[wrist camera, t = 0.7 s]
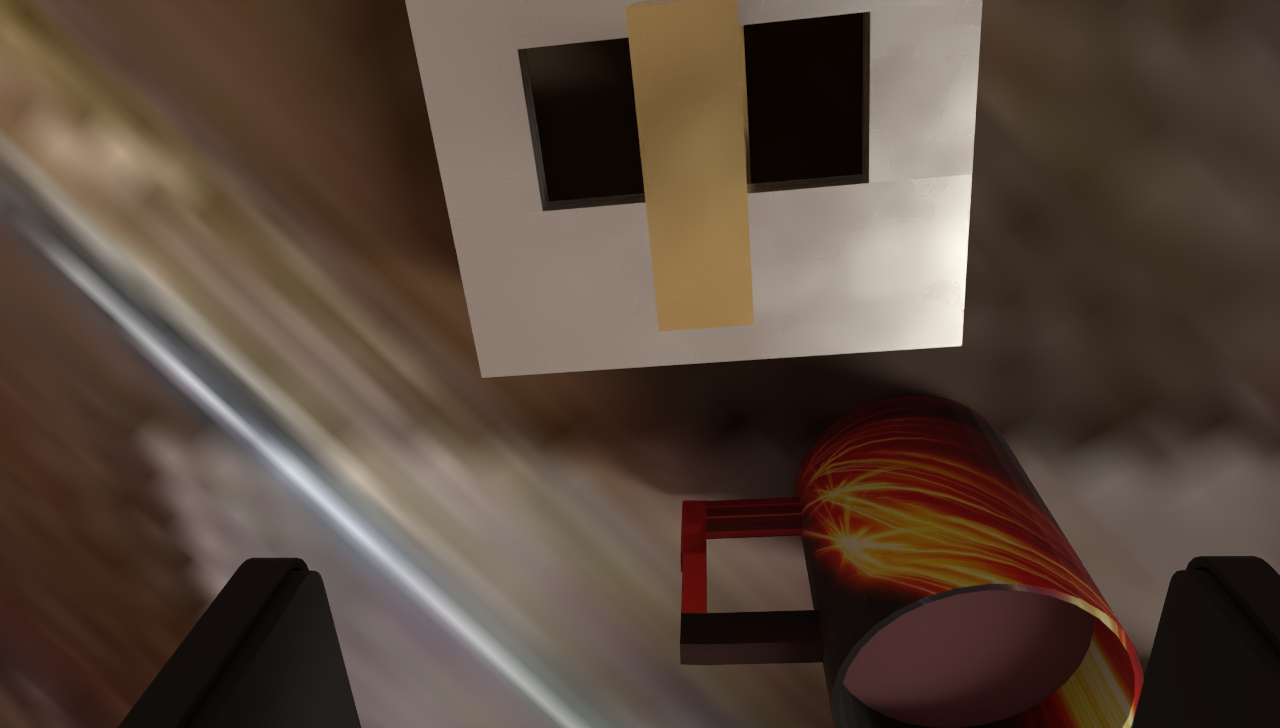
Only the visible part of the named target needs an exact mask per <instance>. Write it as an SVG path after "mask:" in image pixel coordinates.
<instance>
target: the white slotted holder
mask: <svg viewBox="0 0 1280 728" xmlns="http://www.w3.org/2000/svg"><path fill="white" fill-rule="evenodd" d="M641 1H650V0H405V2H406V7H407V12H408V17H409V22H410V27H411V32H412V37H413V42H414V47H415V51H416V56H417V61H418V66H419V71H420V76H421V81H422V86H423V91H424V96H425V101H426V106H427V110H428V115H429V120H430V125H431V130H432V135H433V140H434V145H435V150H436V155H437V160H438V164H439V169H440V174H441V179H442V184H443V189H444V194H445V199H446V204H447V209H448V214H449V219H450V223H451V228H452V233H453V238H454V243H455V248H456V253H457V258H458V263H459V268H460V273H461V278H462V282H463V287H464V292H465V297H466V302H467V307H468V312H469V317H470V322H471V327H472V332H473V336H474V341H475V346H476V351H477V356H478V361H479V366H480V371H481V376H482V378H486V377H501V376H516V375H531V374H546V373H561V372H576V371H591V370H606V369H622V368H637V367H652V366H667V365H682V364H697V363H712V362H727V361H742V360H757V359H772V358H787V357H802V356H817V355H832V354H847V353H862V352H877V351H892V350H908V349H923V348H938V347H953V346H962V335H963V318H964V301H965V284H966V268H967V251H968V234H969V217H970V200H971V184H972V167H973V150H974V133H975V116H976V100H977V83H978V66H979V49H980V33H981V16H982V0H737V6H738V25H739V26H740V25H749V24H758V23H768V22H777V21H787V20H796V19H805V18H815V17H824V16H833V15H843V14H852V13H861V12H863V124H862V174H857V175H846V176H834V177H823V178H811V179H800V180H789V181H777V182H766V183H754V184H747V198H748V217H749V236H750V256H751V275H752V294H753V313H754V325H745V326H731V327H717V328H703V329H689V330H675V331H660V332H659V327H658V318H657V308H656V298H655V289H654V279H653V269H652V260H651V250H650V240H649V231H648V221H647V211H646V202H645V193H640V194H629V195H618V196H606V197H595V198H583V199H572V200H560V201H549V199H548V192H547V186H546V179H545V173H544V166H543V159H542V153H541V146H540V140H539V133H538V127H537V120H536V113H535V107H534V100H533V94H532V87H531V80H530V74H529V67H528V61H527V54H526V48H534V47H543V46H553V45H562V44H571V43H581V42H590V41H599V40H609V39H618V38H628V28H627V18H626V7H627V6H629V5H630V4H632V3H633V2H641Z"/></svg>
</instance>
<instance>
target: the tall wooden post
mask: <svg viewBox="0 0 1280 728" xmlns="http://www.w3.org/2000/svg"><path fill="white" fill-rule="evenodd" d="M626 18H627V28H628V37H629V47H630V57H631V66H632V76H633V86H634V95H635V105H636V115H637V124H638V134H639V144H640V153H641V163H642V173H643V182H644V192H645V202H646V211H647V221H648V231H649V240H650V250H651V260H652V269H653V279H654V289H655V298H656V308H657V318H658V327H659V332H660V331H675V330H689V329H703V328H717V327H731V326H745V325H754V313H753V294H752V275H751V256H750V236H749V217H748V198H747V184H751V169H750V148H749V128H748V108H747V88H746V68H745V48H744V28H743V25H740V26H739V25H738V6H737V0H650V1H641V2H633V3H632V4H630V5H629V6H627V7H626Z"/></svg>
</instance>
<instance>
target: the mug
mask: <svg viewBox="0 0 1280 728" xmlns="http://www.w3.org/2000/svg"><path fill="white" fill-rule="evenodd" d="M774 536H802V542H803V548H804V554H805V560H806V566H807V571H808V577H809V583H810V589H811V595H812V601H813V607H814V610H805V611H770V612H736V613H707V565H706V539H721V538H748V537H774ZM681 572H683V573H682V604H681V635H680V657H681V664H688V665H724V664H768V663H812V662H823V665H824V671H825V677H826V683H827V689H828V694H829V700H830V706H831V712H832V717H833V722H834V727H835V728H1131V726H1132V723H1133V719H1134V715H1135V711H1136V708H1137V704H1138V700H1139V696H1140V693H1141V689H1142V685H1143V670H1142V666H1141V663H1140V659H1139V656H1138V652H1137V650H1136V649H1135V647H1134V645H1133V644H1132V642H1131V641H1130V639H1129V637H1128V636H1127V634H1126V633H1125V631H1124V629H1123V628H1122V626H1121V625H1120V623H1119V621H1118V620H1117V618H1116V617H1115V615H1114V613H1113V612H1112V610H1111V609H1110V607H1109V605H1108V604H1107V602H1106V601H1105V599H1104V597H1103V596H1102V594H1101V593H1100V591H1099V590H1098V588H1097V586H1096V585H1095V583H1094V582H1093V580H1092V578H1091V577H1090V575H1089V574H1088V572H1087V570H1086V569H1085V567H1084V566H1083V564H1082V562H1081V561H1080V559H1079V558H1078V556H1077V554H1076V553H1075V551H1074V550H1073V548H1072V546H1071V545H1070V543H1069V542H1068V540H1067V538H1066V537H1065V535H1064V534H1063V532H1062V530H1061V529H1060V527H1059V526H1058V524H1057V522H1056V521H1055V519H1054V518H1053V516H1052V514H1051V513H1050V511H1049V510H1048V508H1047V506H1046V505H1045V503H1044V502H1043V500H1042V498H1041V497H1040V495H1039V494H1038V492H1037V490H1036V489H1035V487H1034V486H1033V484H1032V482H1031V481H1030V479H1029V478H1028V476H1027V474H1026V473H1025V471H1024V470H1023V468H1022V466H1021V465H1020V463H1019V462H1018V460H1017V458H1016V457H1015V455H1014V454H1013V452H1012V451H1011V449H1010V447H1009V446H1008V444H1007V443H1006V441H1005V439H1004V438H1003V436H1002V435H1001V433H1000V432H999V431H998V430H997V429H996V428H995V427H994V426H993V425H992V424H991V423H990V422H989V421H988V420H987V419H986V418H985V417H983V416H981V415H980V414H978V413H977V412H975V411H973V410H972V409H970V408H969V407H966V406H963V405H961V404H958V403H955V402H953V401H950V400H946V399H940V398H934V397H928V396H902V397H896V398H890V399H885V400H880V401H877V402H874V403H871V404H868V405H866V406H863V407H860V408H858V409H856V410H854V411H853V412H851V413H849V414H847V415H845V416H844V417H842V418H840V419H839V420H837V421H836V422H835V423H834V424H833V425H831V426H830V427H829V428H828V429H826V430H825V431H824V432H823V433H822V434H821V435H820V437H819V438H818V439H817V440H816V441H815V443H814V444H813V445H812V446H811V447H810V449H809V451H808V453H807V455H806V456H805V458H804V460H803V462H802V464H801V467H800V470H799V474H798V477H797V481H796V495H795V497H790V498H766V499H742V500H718V501H689V500H685V501H683V503H682V530H681Z"/></svg>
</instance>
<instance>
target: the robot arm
mask: <svg viewBox="0 0 1280 728" xmlns="http://www.w3.org/2000/svg"><path fill="white" fill-rule="evenodd" d="M118 728H361V725H360V721H359V718H358V714H357V710H356V706H355V702H354V698H353V695H352V691H351V687H350V683H349V679H348V675H347V672H346V668H345V664H344V660H343V656H342V652H341V649H340V645H339V641H338V637H337V633H336V629H335V626H334V622H333V618H332V614H331V610H330V606H329V602H328V599H327V595H326V591H325V587H324V583H323V580H322V577H321V575H320V574H319V573H318V572H317V571H309V569H308V567H307V564H306V563H305V562H304V561H303V560H302V559H299V558H250V559H248V560H246V561H245V562H244V563H243V564H241V565H240V567H239V568H238V569H237V571H236V572H235V573H234V575H233V576H232V577H231V578H230V580H229V581H228V582H227V584H226V585H225V586H224V588H223V589H222V590H221V592H220V593H219V594H218V596H217V597H216V598H215V600H214V601H213V602H212V604H211V605H210V606H209V608H208V609H207V610H206V612H205V613H204V614H203V615H202V617H201V618H200V619H199V621H198V622H197V623H196V625H195V626H194V627H193V629H192V630H191V631H190V633H189V634H188V635H187V637H186V638H185V639H184V641H183V642H182V643H181V645H180V646H179V647H178V649H177V650H176V651H175V652H174V654H173V655H172V656H171V658H170V659H169V660H168V662H167V663H166V664H165V666H164V667H163V668H162V670H161V671H160V672H159V674H158V675H157V676H156V678H155V679H154V680H153V682H152V683H151V684H150V686H149V687H148V688H147V690H146V691H145V692H144V693H143V695H142V696H141V697H140V699H139V700H138V701H137V703H136V704H135V705H134V707H133V708H132V709H131V711H130V712H129V713H128V715H127V716H126V717H125V719H124V720H123V721H122V723H121V724H120V725H119V727H118ZM1131 728H1280V575H1279V574H1278V573H1277V572H1276V571H1275V570H1274V569H1273V568H1272V567H1271V566H1270V565H1269V564H1268V563H1267V562H1265V561H1264V560H1263V559H1261V558H1258V557H1255V556H1200V557H1196V558H1193V559H1192V560H1191V561H1190V562H1189V564H1188V566H1187V568H1186V570H1181V571H1177V572H1176V573H1175V574H1174V575H1173V576H1172V578H1171V581H1170V584H1169V588H1168V592H1167V595H1166V599H1165V603H1164V607H1163V610H1162V614H1161V618H1160V622H1159V625H1158V629H1157V633H1156V637H1155V640H1154V644H1153V648H1152V652H1151V655H1150V659H1149V663H1148V667H1147V670H1146V674H1145V678H1144V681H1143V685H1142V689H1141V693H1140V696H1139V700H1138V704H1137V708H1136V711H1135V715H1134V719H1133V723H1132V726H1131Z"/></svg>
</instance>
